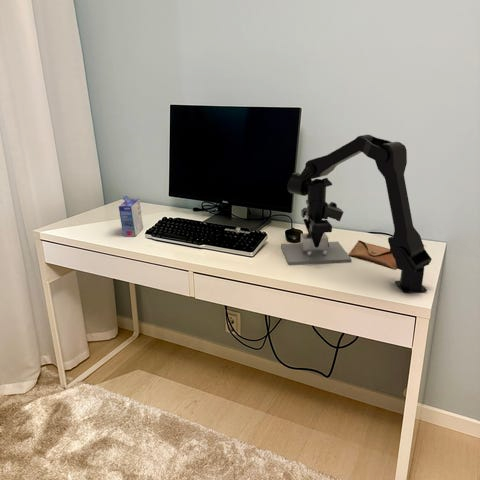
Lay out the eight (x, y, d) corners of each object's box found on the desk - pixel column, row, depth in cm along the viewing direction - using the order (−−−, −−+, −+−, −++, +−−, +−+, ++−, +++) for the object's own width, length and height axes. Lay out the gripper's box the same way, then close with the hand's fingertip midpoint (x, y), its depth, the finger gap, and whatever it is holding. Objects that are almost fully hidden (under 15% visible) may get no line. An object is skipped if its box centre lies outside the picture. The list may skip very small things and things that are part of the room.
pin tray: (351, 262, 138) (351, 254, 137) (288, 264, 137) (288, 257, 137) (337, 244, 153) (338, 237, 152) (281, 246, 152) (281, 239, 152)
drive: (329, 249, 142) (329, 237, 141) (303, 250, 142) (303, 238, 141) (325, 243, 147) (326, 232, 146) (300, 245, 147) (300, 233, 145)
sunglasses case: (344, 255, 143) (350, 236, 144) (353, 259, 149) (359, 241, 149) (396, 270, 132) (403, 249, 132) (404, 274, 137) (411, 254, 137)
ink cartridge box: (130, 228, 176) (126, 193, 171) (143, 228, 175) (140, 193, 170) (121, 236, 166) (117, 199, 161) (135, 236, 166) (131, 199, 161)
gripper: (350, 205, 130) (347, 253, 136) (334, 190, 148) (332, 233, 153) (313, 206, 130) (311, 255, 135) (301, 191, 147) (300, 235, 153)
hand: (314, 244), depth 144 cm, fingers closed on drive, 5 cm apart
